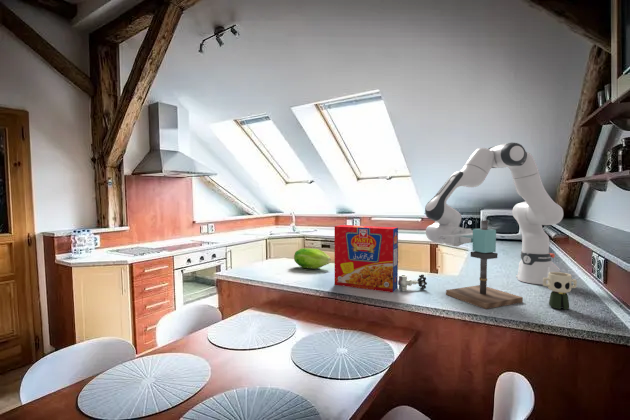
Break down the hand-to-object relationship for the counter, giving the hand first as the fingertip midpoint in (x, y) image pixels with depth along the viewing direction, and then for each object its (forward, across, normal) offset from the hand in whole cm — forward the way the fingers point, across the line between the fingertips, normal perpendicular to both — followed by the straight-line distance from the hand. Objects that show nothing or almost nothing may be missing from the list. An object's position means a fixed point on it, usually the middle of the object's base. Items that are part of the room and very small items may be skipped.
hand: (480, 240), depth 142 cm
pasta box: (-33, -35, +24) cm, 54 cm away
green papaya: (-78, -44, +24) cm, 93 cm away
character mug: (+22, +16, +24) cm, 36 cm away
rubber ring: (+2, 0, +7) cm, 7 cm away
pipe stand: (+2, 0, +24) cm, 24 cm away
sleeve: (+2, 0, +4) cm, 5 cm away
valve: (-21, -19, +24) cm, 37 cm away
